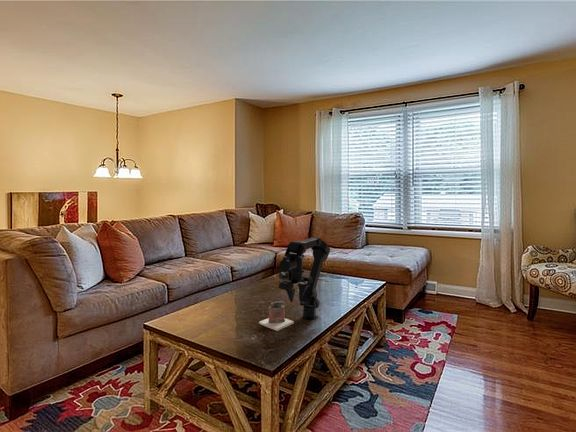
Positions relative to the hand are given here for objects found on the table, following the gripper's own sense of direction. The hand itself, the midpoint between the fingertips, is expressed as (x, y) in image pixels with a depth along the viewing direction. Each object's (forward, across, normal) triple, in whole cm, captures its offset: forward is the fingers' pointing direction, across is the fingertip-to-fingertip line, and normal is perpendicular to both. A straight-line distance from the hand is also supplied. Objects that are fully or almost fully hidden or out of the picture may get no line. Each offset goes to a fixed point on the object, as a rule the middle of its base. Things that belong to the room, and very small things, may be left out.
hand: (295, 300), depth 164 cm
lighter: (+12, +4, -9) cm, 16 cm away
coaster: (+13, +4, -9) cm, 16 cm away
